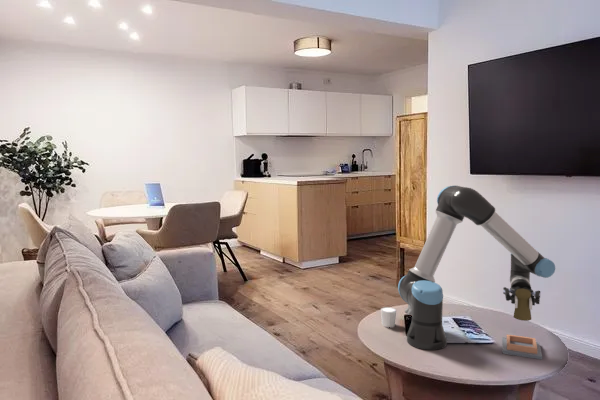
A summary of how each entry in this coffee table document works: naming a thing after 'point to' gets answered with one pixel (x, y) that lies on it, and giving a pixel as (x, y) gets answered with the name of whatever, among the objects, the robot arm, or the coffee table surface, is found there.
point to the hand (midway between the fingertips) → (523, 305)
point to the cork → (523, 305)
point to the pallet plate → (521, 346)
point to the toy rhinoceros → (408, 310)
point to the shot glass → (388, 316)
